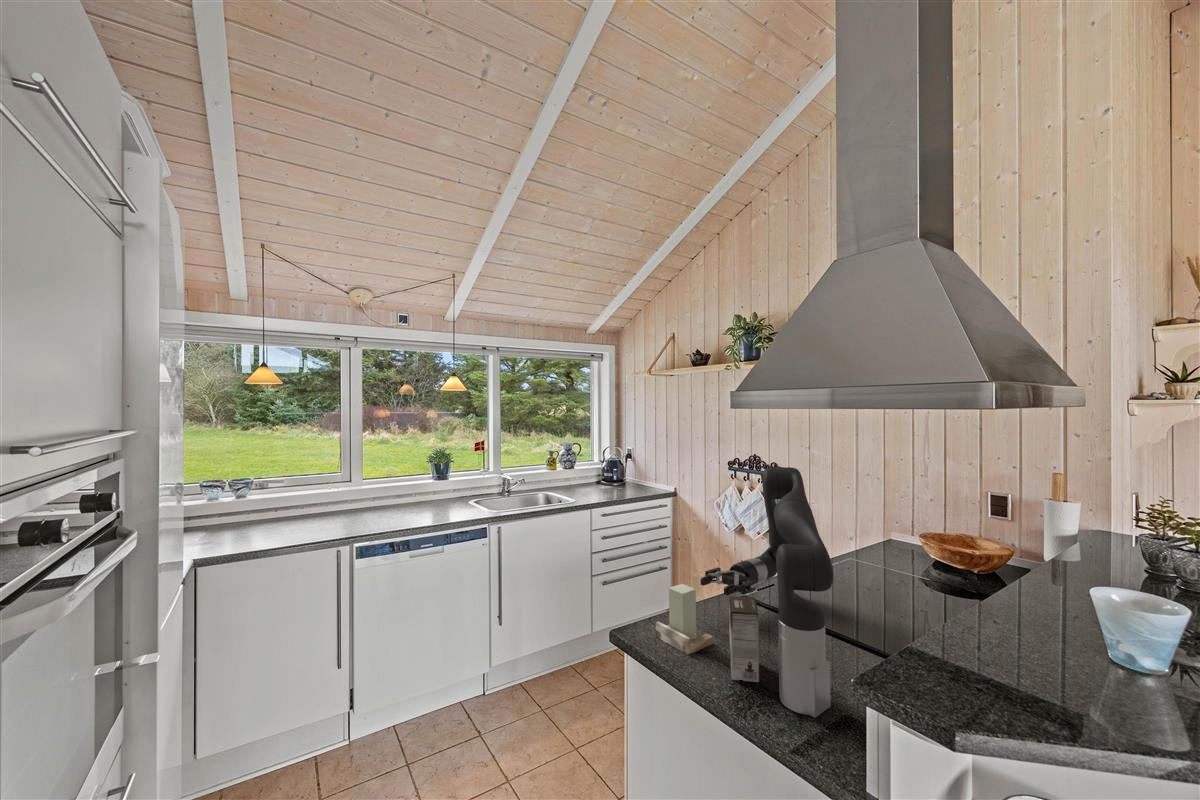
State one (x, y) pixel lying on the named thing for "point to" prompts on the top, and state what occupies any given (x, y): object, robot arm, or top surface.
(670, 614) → the sage block
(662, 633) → the wooden lane
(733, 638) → the coffee box
